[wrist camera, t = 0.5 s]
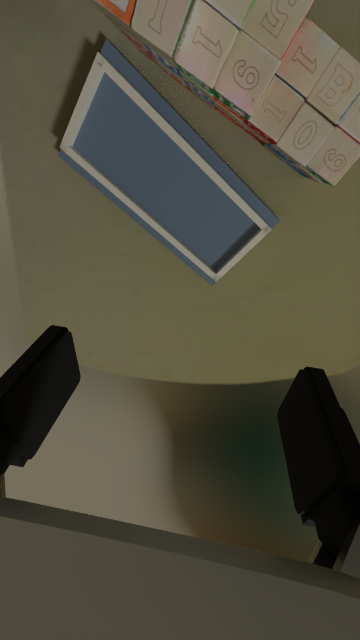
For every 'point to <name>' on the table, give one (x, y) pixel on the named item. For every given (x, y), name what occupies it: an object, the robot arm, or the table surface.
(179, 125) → the shallow rectangular tray
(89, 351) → the table surface
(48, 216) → the table surface
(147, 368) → the table surface
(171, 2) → the stack of blocks
